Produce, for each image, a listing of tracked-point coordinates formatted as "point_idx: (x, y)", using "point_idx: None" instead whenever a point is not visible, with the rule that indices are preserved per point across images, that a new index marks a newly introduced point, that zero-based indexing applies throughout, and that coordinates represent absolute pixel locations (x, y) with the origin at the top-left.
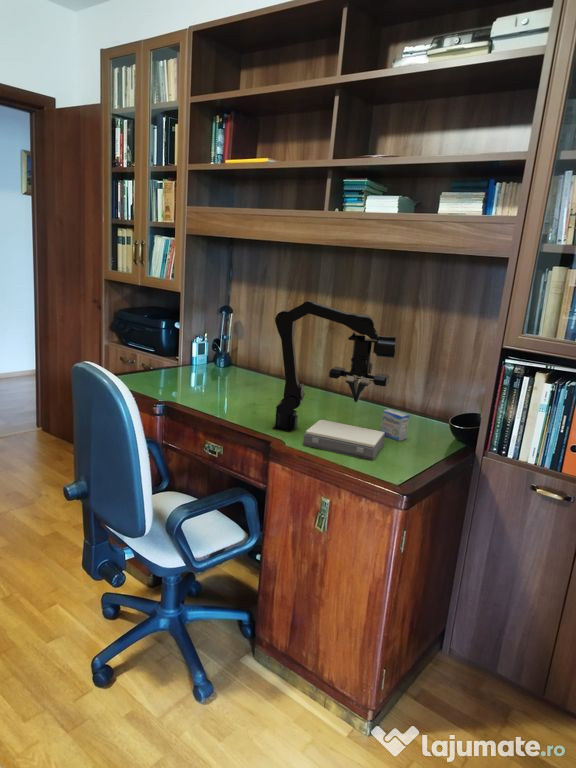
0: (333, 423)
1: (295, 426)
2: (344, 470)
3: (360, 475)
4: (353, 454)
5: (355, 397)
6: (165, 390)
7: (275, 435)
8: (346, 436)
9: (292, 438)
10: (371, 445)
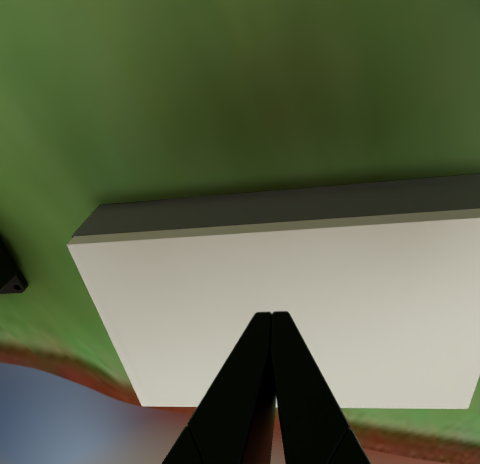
0: (167, 264)
1: (5, 264)
2: (360, 439)
3: (413, 445)
4: None
5: (272, 414)
6: None
7: (26, 336)
8: None
9: (87, 330)
10: (451, 405)
